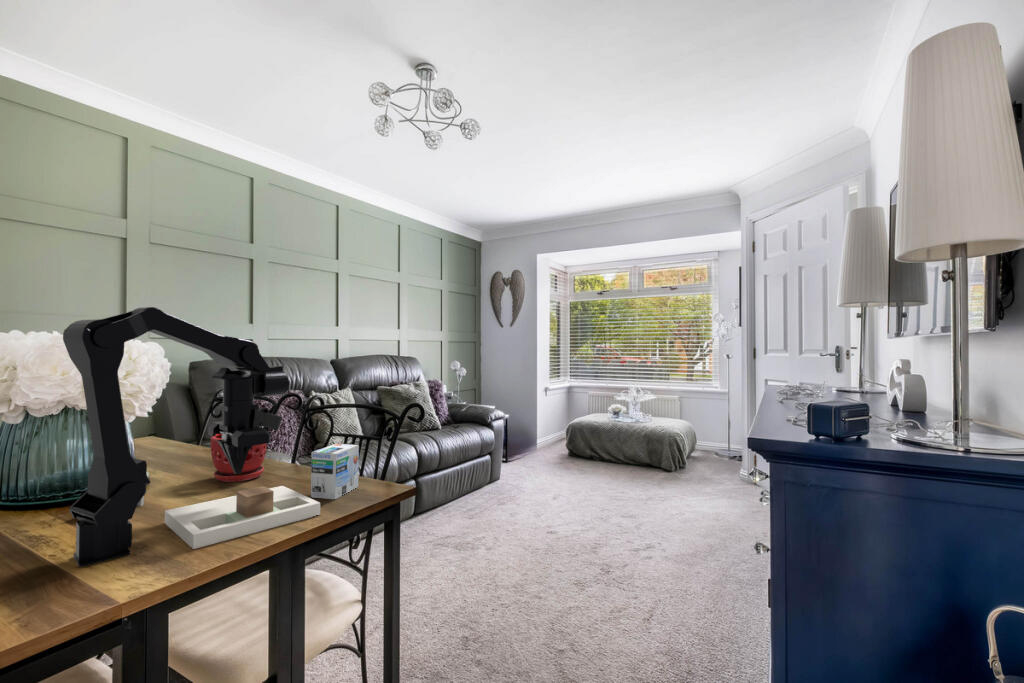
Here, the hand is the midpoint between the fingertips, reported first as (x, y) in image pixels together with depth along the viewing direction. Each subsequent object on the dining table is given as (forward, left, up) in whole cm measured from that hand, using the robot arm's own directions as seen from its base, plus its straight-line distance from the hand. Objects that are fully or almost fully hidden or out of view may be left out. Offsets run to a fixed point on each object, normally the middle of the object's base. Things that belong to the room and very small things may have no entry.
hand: (237, 473), depth 101 cm
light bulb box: (+21, -2, -9) cm, 23 cm away
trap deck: (0, -5, -8) cm, 10 cm away
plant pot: (+10, +28, -9) cm, 31 cm away
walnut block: (0, -9, -6) cm, 11 cm away
